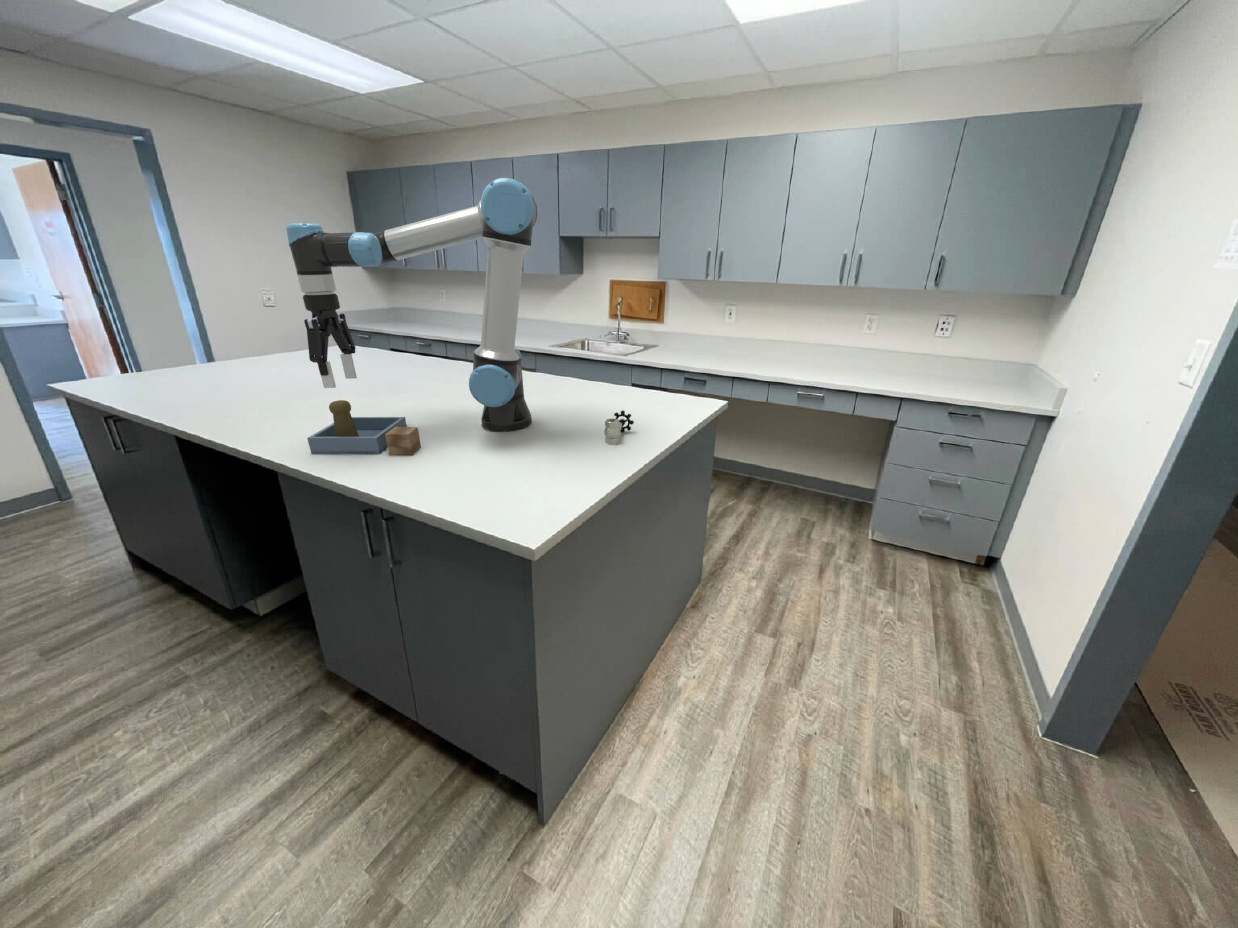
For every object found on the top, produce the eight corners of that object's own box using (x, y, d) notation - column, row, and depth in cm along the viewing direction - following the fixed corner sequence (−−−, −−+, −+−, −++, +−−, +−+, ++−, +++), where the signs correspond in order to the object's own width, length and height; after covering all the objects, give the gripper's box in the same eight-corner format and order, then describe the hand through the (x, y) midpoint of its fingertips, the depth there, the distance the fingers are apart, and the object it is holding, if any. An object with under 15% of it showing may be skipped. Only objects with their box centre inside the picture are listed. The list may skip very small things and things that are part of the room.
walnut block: (421, 447, 132) (417, 426, 130) (412, 456, 126) (408, 434, 124) (399, 447, 132) (395, 426, 130) (389, 456, 126) (385, 434, 124)
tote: (407, 431, 144) (405, 417, 142) (379, 454, 127) (376, 438, 126) (347, 431, 144) (343, 417, 142) (311, 454, 127) (307, 438, 126)
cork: (349, 444, 132) (340, 404, 128) (330, 442, 133) (320, 403, 129) (364, 436, 138) (356, 398, 133) (345, 435, 139) (336, 397, 134)
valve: (621, 446, 132) (633, 432, 143) (621, 423, 130) (634, 411, 140) (598, 444, 134) (612, 430, 145) (597, 421, 132) (612, 409, 142)
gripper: (330, 290, 130) (349, 373, 139) (274, 297, 109) (301, 393, 118) (357, 290, 130) (375, 373, 139) (307, 296, 109) (331, 393, 118)
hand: (341, 382), depth 128 cm, fingers open, 10 cm apart
